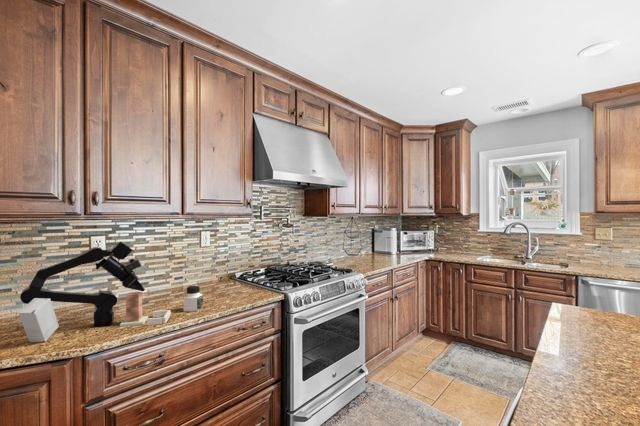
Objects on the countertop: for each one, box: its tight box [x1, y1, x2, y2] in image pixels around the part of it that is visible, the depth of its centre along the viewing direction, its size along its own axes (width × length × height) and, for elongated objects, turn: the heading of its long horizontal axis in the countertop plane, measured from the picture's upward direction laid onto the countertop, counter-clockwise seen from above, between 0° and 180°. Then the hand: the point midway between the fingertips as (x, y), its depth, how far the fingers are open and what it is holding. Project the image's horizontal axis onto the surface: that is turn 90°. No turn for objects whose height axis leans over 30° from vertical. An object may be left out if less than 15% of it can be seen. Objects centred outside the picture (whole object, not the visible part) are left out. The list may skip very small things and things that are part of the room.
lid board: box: [119, 315, 149, 328], centre depth 139 cm, size 9×9×1 cm
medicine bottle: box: [183, 284, 204, 312], centre depth 157 cm, size 7×7×12 cm
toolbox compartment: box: [146, 309, 171, 326], centre depth 142 cm, size 7×12×2 cm, turn 16°
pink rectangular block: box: [125, 291, 143, 322], centre depth 139 cm, size 5×5×12 cm
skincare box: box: [18, 298, 60, 343], centre depth 118 cm, size 8×6×15 cm
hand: (142, 288), depth 146 cm, fingers open, 9 cm apart
